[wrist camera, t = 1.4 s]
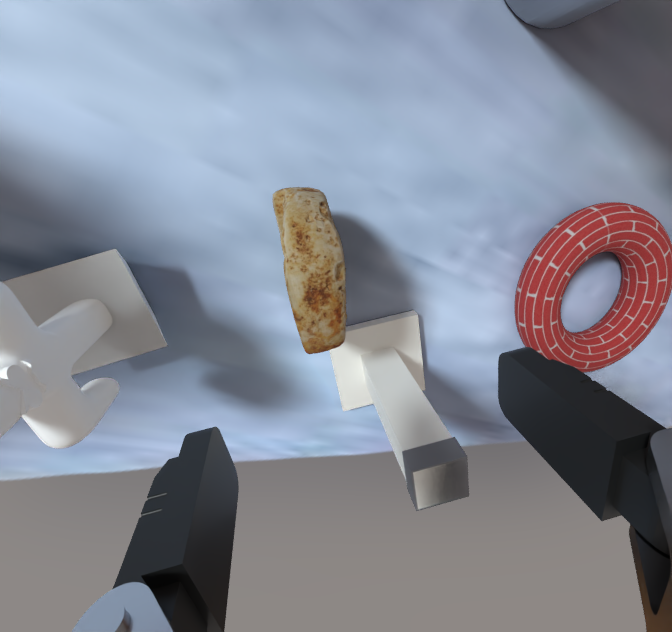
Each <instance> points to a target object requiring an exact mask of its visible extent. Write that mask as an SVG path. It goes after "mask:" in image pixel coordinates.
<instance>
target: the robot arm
mask: <svg viewBox="0 0 672 632" xmlns="http://www.w3.org/2000/svg"><path fill="white" fill-rule="evenodd" d="M618 1H620V0H506V3H507V4H508V5H509V7H510V8H511V9H512V10H513V12H514V13H515V14H516V15H517V16H518V17H519V18H521V19H522V20H523V21H525V22H526V23H528V24H530V25H533V26H535V27H538V28H548V29H552V28H557V27H562V26H566V25H568V24H570V23H572V22H574V21H576V20H579V19H581V18H583V17H585V16H587V15H589V14H592V13H594V12H596V11H598V10H600V9H602V8H604V7H607V6H609V5H611V4H613V3H615V2H618ZM498 399H499V404H500V407H501V409H502V411H503V413H504V415H505V417H506V418H507V419H508V420H509V421H510V423H511V424H512V425H513V426H514V427H515V428H516V429H517V430H518V431H519V432H520V433H521V434H522V436H523V437H524V438H525V439H526V440H527V441H528V442H529V443H530V444H531V445H532V446H533V447H534V448H535V450H536V451H537V452H538V453H539V454H540V455H541V456H542V457H543V458H544V459H545V460H546V461H547V462H548V464H549V465H550V466H551V467H552V468H553V469H554V470H555V471H556V472H557V473H558V474H559V475H560V477H561V478H562V479H563V480H564V481H565V482H566V483H567V484H568V485H569V486H570V487H571V488H572V489H573V490H574V492H575V493H576V494H577V495H578V496H579V497H580V498H581V499H582V500H583V501H584V503H586V505H587V506H588V507H589V508H590V509H591V510H592V511H593V512H594V513H595V514H596V515H597V517H598V518H599V519H600V520H601V521H604V520H607V519H610V518H614V517H617V516H620V515H622V516H623V517H624V518H625V519H626V520H627V521H628V522H629V523H630V528H629V537H630V542H631V548H632V553H633V558H634V563H635V569H636V574H637V579H638V585H639V590H640V594H641V600H642V605H643V610H644V616H645V622H646V632H672V428H669V429H666V428H665V427H663V426H662V425H660V424H659V423H657V422H656V421H654V420H653V419H651V418H650V417H648V416H647V415H645V414H644V413H642V412H641V411H639V410H638V409H636V408H635V407H633V406H632V405H630V404H629V403H627V402H626V401H624V400H623V399H621V398H620V397H618V396H617V395H615V394H614V393H612V392H611V391H607V390H606V388H605V387H603V386H602V385H600V384H599V383H597V382H596V381H592V380H591V378H590V377H588V376H587V375H585V374H584V373H582V372H581V371H579V370H578V369H576V368H575V367H573V366H570V365H567V364H565V363H562V362H559V361H557V360H554V359H551V360H548V359H547V358H546V357H544V356H543V355H541V354H540V353H538V352H537V351H536V350H534V349H533V348H531V347H524V348H521V349H517V350H513V351H509V352H505V353H502V354H501V355H500V356H499V361H498ZM147 498H148V500H147V501H146V502H145V504H144V507H143V510H142V512H141V515H142V517H141V518H139V520H138V523H137V526H136V529H135V531H134V534H133V536H132V539H131V542H130V545H129V547H128V550H127V552H126V555H125V558H124V561H123V563H122V566H121V569H120V571H119V574H118V577H117V579H116V582H115V585H114V587H113V589H112V590H111V591H109V592H107V593H106V594H105V595H103V596H102V597H101V598H100V599H98V600H97V601H96V602H95V603H94V604H93V605H92V606H91V607H90V608H89V609H88V610H87V611H86V612H85V613H84V615H83V616H82V617H81V619H80V620H79V621H78V623H77V624H76V626H75V628H74V629H73V630H72V632H224V628H225V618H226V607H227V598H228V588H229V579H230V569H231V559H232V550H233V539H234V529H235V520H236V510H237V500H238V477H237V473H236V469H235V466H234V464H233V461H232V459H231V456H230V454H229V452H228V449H227V447H226V445H225V442H224V440H223V437H222V435H221V433H220V431H219V429H218V428H217V427H212V428H209V429H205V430H201V431H197V432H193V433H189V434H187V435H186V436H185V438H184V441H183V444H182V447H181V450H180V454H179V457H176V458H172V459H169V460H168V461H167V462H166V464H165V465H164V466H163V467H162V469H161V470H160V471H159V473H158V474H157V475H156V476H155V478H154V481H153V483H152V486H151V488H150V491H149V494H148V496H147Z"/></svg>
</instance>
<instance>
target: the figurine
mask: <svg viewBox="0 0 672 632" xmlns="http://www.w3.org/2000/svg"><path fill="white" fill-rule="evenodd" d="M167 346H168V345H167V343H166V341H165V338H164V336H163V334H162V331H161V329H160V327H159V324H158V322H157V320H156V317H155V315H154V313H153V311H152V309H151V307H150V305H149V304H148V302H147V300H146V298H145V296H144V294H143V292H142V290H141V289H140V287H139V285H138V283H137V281H136V279H135V277H134V275H133V273H132V272H131V270H130V268H129V266H128V264H127V262H126V261H125V260H124V258H123V257H122V256H121V255H120V253H119V252H118V251H117V250H116V249H112V250H109V251H105V252H102V253H99V254H95V255H92V256H88V257H85V258H81V259H78V260H75V261H71V262H68V263H64V264H61V265H58V266H54V267H51V268H47V269H44V270H40V271H37V272H34V273H30V274H27V275H23V276H20V277H16V278H13V279H10V280H6V281H3V282H0V437H2V436H3V435H4V434H5V433H6V432H7V431H8V430H9V429H10V428H11V427H13V426H14V424H15V423H16V422H17V421H18V420H19V419H20V418H21V416H22V418H23V419H24V420H25V421H26V423H27V424H28V425H29V426H30V427H31V429H32V430H33V431H34V432H35V434H36V435H37V436H38V437H39V438H40V439H41V441H42V442H44V443H45V444H46V445H48V446H49V447H52V448H57V449H61V448H67V447H70V446H73V445H75V444H76V443H78V442H80V441H81V440H83V439H84V438H85V437H86V436H87V435H88V434H89V433H90V432H91V431H92V430H93V429H94V428H95V427H96V425H97V424H98V423H99V421H100V420H101V419H102V417H103V416H104V414H105V413H106V411H107V410H108V408H109V407H110V405H111V404H112V402H113V401H114V399H115V398H116V396H117V395H118V393H119V389H120V387H119V383H118V382H117V381H116V380H114V379H112V378H107V377H103V378H98V379H94V380H92V381H90V382H88V383H86V384H85V385H84V386H83V387H82V388H81V389H80V388H79V386H78V385H77V383H76V382H75V380H74V379H73V378H72V375H75V374H78V373H82V372H85V371H88V370H91V369H95V368H98V367H101V366H105V365H108V364H111V363H114V362H118V361H121V360H124V359H127V358H131V357H134V356H137V355H141V354H144V353H147V352H150V351H154V350H157V349H160V348H163V347H167Z"/></svg>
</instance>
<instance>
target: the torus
mask: <svg viewBox="0 0 672 632" xmlns="http://www.w3.org/2000/svg"><path fill="white" fill-rule="evenodd" d="M606 251H608V252H612V253H614V254H615V255H616V256H617V257H618V259H619V261H620V264H621V268H622V279H621V285H620V289H619V292H618V295H617V297H616V299H615V301H614V303H613V305H612V307H611V308H610V310H609V311H608V312H607V314H606V315H605V316H604V317H603V318H602V319H601V320H600V321H599V322H598V323H596V324H595V325H594V326H592V327H591V328H589V329H587V330H585V331H582V332H577V333H572V332H569V331H567V330H566V329H565V328H564V326H563V324H562V321H561V314H560V308H561V302H562V298H563V294H564V292H565V289H566V287H567V285H568V283H569V281H570V279H571V278H572V276H573V275H574V273H575V272H576V271H577V270H578V269H579V267H580V266H581V265H582V264H583V263H584V262H586V261H587V260H588V259H590V258H591V257H593V256H594V255H596V254H598V253H601V252H606ZM671 289H672V244H671V241H670V239H669V236H668V234H667V233H666V231H665V229H664V228H663V226H662V225H661V223H660V222H659V221H658V220H657V219H656V218H655V217H654V216H652V215H651V214H650V213H648V212H647V211H645V210H643V209H642V208H639V207H637V206H634V205H630V204H626V203H600V204H596V205H592V206H589V207H586V208H583V209H581V210H579V211H576V212H574V213H573V214H571V215H569V216H567V217H566V218H564V219H563V220H561V221H560V222H559V223H558V224H556V225H555V226H554V227H553V228H552V229H551V230H550V231H549V232H548V233H547V234H546V235H545V236H544V237H543V238H542V239H541V240H540V241H539V243H538V244H537V245H536V247H535V248H534V249H533V251H532V253H531V254H530V256H529V258H528V259H527V261H526V263H525V265H524V268H523V270H522V272H521V275H520V278H519V281H518V285H517V289H516V295H515V320H516V325H517V329H518V332H519V335H520V337H521V339H522V341H523V343H524V345H525V346H526V347H531V348H533V349H534V350H536V351H537V352H538V353H540V354H541V355H543V356H544V357H546V358H547V359H548V360H551V359H554V360H557V361H559V362H562V363H565V364H567V365H570V366H573V367H575V368H576V369H578V370H579V371H581V372H590V371H594V370H598V369H601V368H604V367H606V366H609V365H611V364H612V363H614V362H616V361H618V360H620V359H621V358H623V357H624V356H626V355H627V354H629V353H630V352H631V351H632V350H634V349H635V348H636V347H637V346H638V345H639V344H640V343H641V342H642V341H643V340H644V339H645V338H646V337H647V335H648V334H649V333H650V332H651V330H652V329H653V327H654V326H655V325H656V323H657V321H658V320H659V318H660V316H661V315H662V313H663V311H664V309H665V306H666V304H667V302H668V299H669V296H670V293H671Z"/></svg>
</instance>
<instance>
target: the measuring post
mask: <svg viewBox="0 0 672 632" xmlns="http://www.w3.org/2000/svg"><path fill="white" fill-rule="evenodd" d="M329 352H330V356H331V360H332V365H333V369H334V374H335V378H336V382H337V387H338V391H339V396H340V400H341V405H342V408H343V411H347V410H351V409H355V408H359V407H362V406H366V405H370V404H374V405H375V407H376V410H377V412H378V415H379V417H380V419H381V422H382V424H383V427H384V429H385V431H386V434H387V436H388V439H389V441H390V443H391V446H392V448H393V451H394V453H395V455H396V458H397V460H398V463H399V465H400V468H401V470H402V472H403V475H404V477H405V479H406V482H407V489H408V492H409V494H410V497H411V499H412V501H413V504H414V506H415V509H416V511H419V510H422V509H426V508H429V507H433V506H436V505H440V504H443V503H447V502H451V501H454V500H457V499H461V498H465V497H468V496H469V486H468V463H467V455H466V454H465V452H464V451H463V449H462V448H461V446H460V444H459V443H458V441H457V440H456V438H455V437H453V438H452V436H451V435H450V433H449V432H448V430H447V429H446V427H445V426H444V424H443V423H442V421H441V419H440V418H439V416H438V415H437V413H436V412H435V410H434V409H433V407H432V406H431V404H430V403H429V401H428V399H427V398H426V396H425V395H424V393H423V392H422V391H424V390H425V381H424V371H423V361H422V351H421V341H420V331H419V321H418V314H417V313H416V312H415V311H414V310H412V311H408V312H404V313H400V314H396V315H392V316H387V317H383V318H379V319H375V320H371V321H367V322H363V323H359V324H355V325H350V326H346V337H345V341H344V343H343V344H341V346H339V347H337V348H334V349H331V350H329Z"/></svg>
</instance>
